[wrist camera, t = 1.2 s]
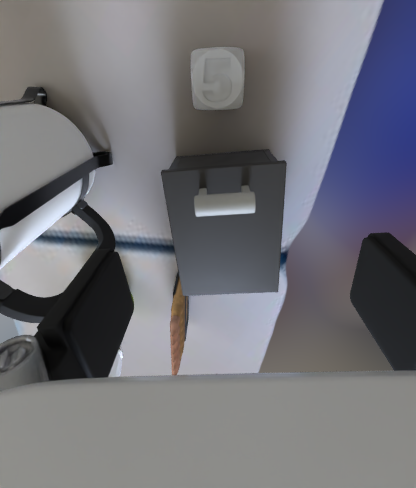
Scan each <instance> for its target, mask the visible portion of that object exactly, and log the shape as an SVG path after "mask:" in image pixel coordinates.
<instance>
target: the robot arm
mask: <svg viewBox="0 0 416 488" xmlns="http://www.w3.org/2000/svg"><path fill="white" fill-rule="evenodd" d="M350 299H351V302H352V304H353V306H354V307H355V308H356V311H357V312H358V314H359V315H360V317H361V318H362V320H363V322H364V323H365V325H366V327H367V328H368V330H369V331H370V333H371V334H372V336H373V338H374V339H375V341H376V342H377V344H378V346H379V347H380V349H381V350H382V352H383V354H384V355H385V357H386V358H387V360H388V362H389V363H390V365H391V366H392V368H393V370H394V371H344V372H290V373H244V374H201V375H166V376H130V377H108V376H109V374H110V371H111V368H112V366H113V363H114V361H115V358H116V355H117V353H118V350H119V348H120V345H121V342H122V340H123V337H124V334H125V332H126V329H127V327H128V324H129V321H130V319H131V316H132V314H133V310H134V303H133V299H132V296H131V293H130V289H129V286H128V283H127V279H126V276H125V273H124V269H123V266H122V263H121V259H120V256H119V254H118V252H114V250H113V249H97V250H96V251H95V252H94V253H93V254H92V256H91V257H90V258H89V260H88V261H87V262H86V264H85V265H84V266H83V267H82V269H81V270H80V271H79V273H78V274H77V275H76V277H75V278H74V279H73V281H72V282H71V283H70V284H69V286H68V287H67V288H66V290H65V291H64V292H63V294H62V295H61V296H60V298H59V299H58V300H57V301H56V303H55V304H54V305H53V307H52V308H51V309H50V311H49V312H48V313H47V315H46V316H45V317H44V318H43V320H42V321H41V322H40V324H39V325H38V326H37V329H38V332H37V333H36V334H35V336H31V335H21V336H16V337H14V338H11V339H9V340H7V341H5V342H3V343H1V344H0V488H416V255H415V254H414V253H413V252H412V251H410V250H409V249H408V248H407V247H405V246H404V245H403V244H402V243H401V242H399V241H398V240H397V239H396V238H395V237H394V236H392V235H391V234H390V233H371V234H369V235H368V237H367V238H364V239H363V242H362V246H361V250H360V254H359V259H358V263H357V267H356V271H355V275H354V279H353V284H352V288H351V292H350Z"/></svg>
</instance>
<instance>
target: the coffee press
mask: <svg viewBox="0 0 416 488" xmlns="http://www.w3.org/2000/svg"><path fill="white" fill-rule="evenodd" d="M34 100H35V101H34ZM32 101H34V104H33V103H26V102H32ZM46 102H47V94H46V92H45V90H44V89H43V88H42V87H27V89H26V91H25V94H24V95H23V97H22V98H21V99H19V100H13V101H1V102H0V269H1V268H2V267H3V266H4V265H5V264H7V263H8V262H9V261H10V260H11V259H13V258H14V257H15V256H16V255H17V254H18V253H20V252H21V251H22V250H23V249H24V248H25V247H27V246H28V245H29V244H30V243H31V242H33V241H34V240H35V239H36V238H37V237H38V236H40V235H41V234H42V233H43V232H44V231H46V230H47V229H48V228H49V227H50V226H51V225H53V224H54V223H55V222H56V221H57V220H58V219H60V218H61V217H64V216H66V215H67V214H69V213H70V212H72V213H73V214H74V215H77V216H79V217H80V218H81V219H82V220H83V221H85V222H86V223H87V224H88V225H89V226H90V227H91V228H92V229H93V230H94V231H95V233H96V235H97V238H98V246H97V248H96V250H97V249H113V250H114V249H115V237H114V234H113V231H112V229H111V228H110V226H109V225H108V224H107V222H106V221H105V220H104V219H103V218H102V217H101V216H100V215H99V214H98V213H97V212H96V211H94V210H93V209H92V208H91V207H90V206H89V205H88V204H87V202H85V201H84V200H83V199H84V198H85V196H86V194H87V193H88V192H89V191H90V189H91V187H92V185H93V182H94V178H95V169H96V168H99V167H103V166H108V165H112V164H113V160H112V153H111V152H97V153H92V150H91V148H90V146H89V144H88V142H87V140H86V139H85V137H84V135H83V134H82V133H81V131H80V130H79V129H78V128H77V127H76V126H75V125H74V124H73V123H72V122H71V121H70V120H69V119H67V118H66V117H65V116H63V115H62V114H60V113H59V112H57V111H55V110H53V109H51V108H49V107H46ZM96 250H95V251H96ZM95 251H94V252H95ZM94 252H93V253H94ZM91 256H92V255H91ZM88 260H89V259H88ZM85 264H86V263H85ZM62 294H63V293H61V294H59V295H56V296H52V297H46V298H43V297H36V296H32V295H29V294H27V293H25V292H23V291H21V290H19V289H16V290H15V289H13V288H11V287H10V286H9V285H7V284H6V283H4V282H2V281H1V280H0V313H1V314H3V315H5V316H8V317H11V318H13V319H16V320H20V321H24V322H30V323H40V322H41V321H42V320H43V318H44V317H45V316H46V315H47V313H48V312H49V311H50V309H51V308H52V307H53V305H54V304H55V303H56V301H57V300H58V299H59V298H60V296H61V295H62Z"/></svg>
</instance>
